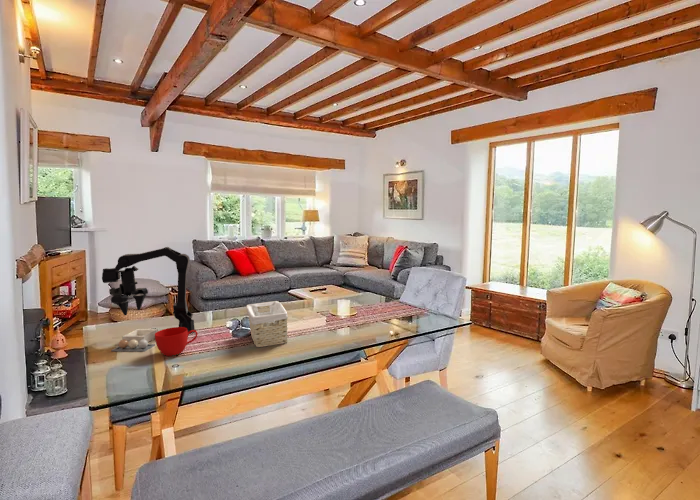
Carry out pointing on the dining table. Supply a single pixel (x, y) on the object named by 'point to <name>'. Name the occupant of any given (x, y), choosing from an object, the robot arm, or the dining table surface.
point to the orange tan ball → (123, 343)
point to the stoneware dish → (141, 335)
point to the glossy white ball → (143, 344)
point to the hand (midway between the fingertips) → (132, 312)
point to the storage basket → (268, 324)
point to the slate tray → (133, 349)
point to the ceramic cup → (173, 340)
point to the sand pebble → (133, 343)
